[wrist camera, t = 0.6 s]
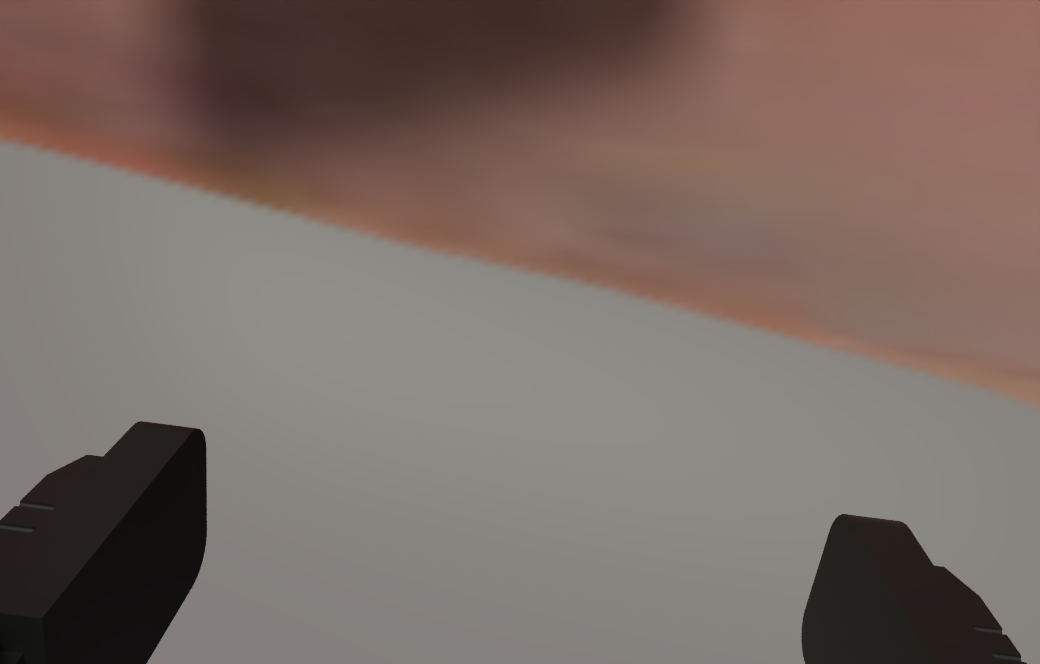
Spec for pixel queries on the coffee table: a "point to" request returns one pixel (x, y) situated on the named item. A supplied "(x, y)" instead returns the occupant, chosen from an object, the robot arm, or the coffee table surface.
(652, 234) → the coffee table surface
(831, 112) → the coffee table surface
